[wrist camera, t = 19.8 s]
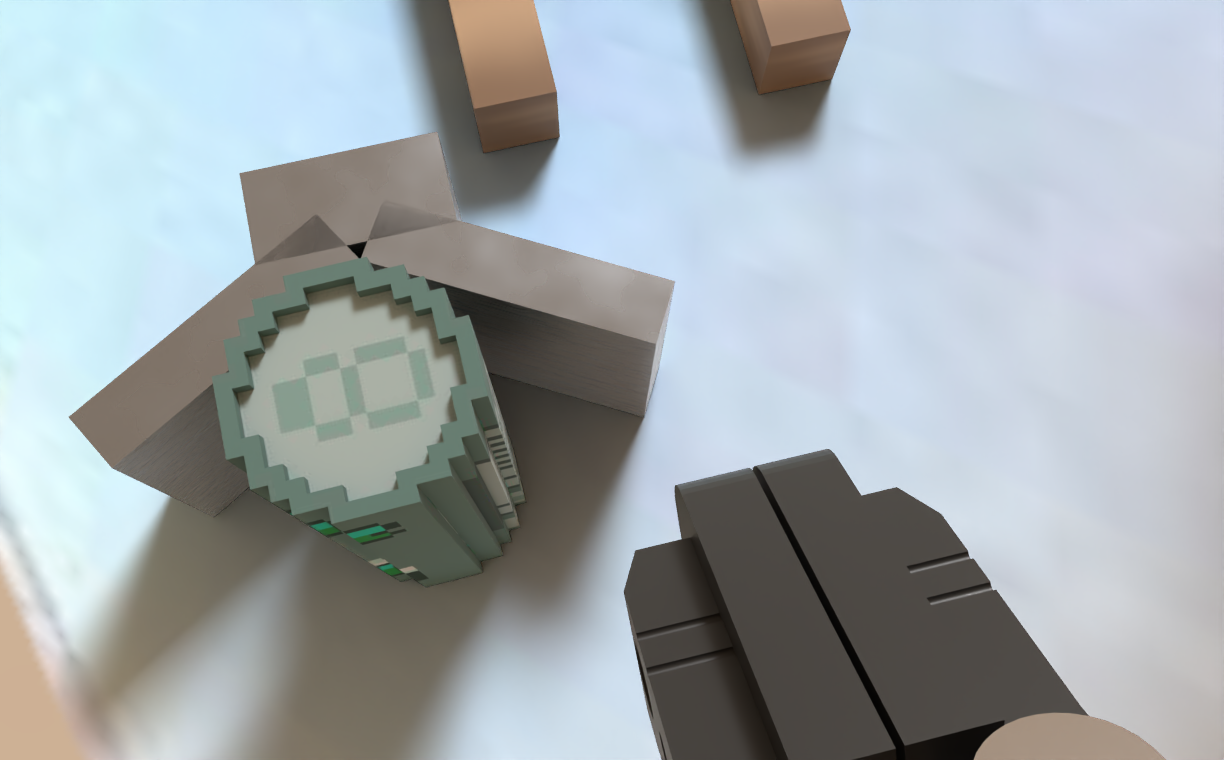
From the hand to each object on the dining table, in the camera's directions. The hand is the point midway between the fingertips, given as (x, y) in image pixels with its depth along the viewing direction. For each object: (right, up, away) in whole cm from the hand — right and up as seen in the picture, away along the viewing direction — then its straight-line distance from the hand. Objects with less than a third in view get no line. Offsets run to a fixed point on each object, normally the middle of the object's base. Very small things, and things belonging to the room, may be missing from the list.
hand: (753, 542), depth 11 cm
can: (-8, -3, +30) cm, 31 cm away
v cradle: (-9, +2, +31) cm, 33 cm away
